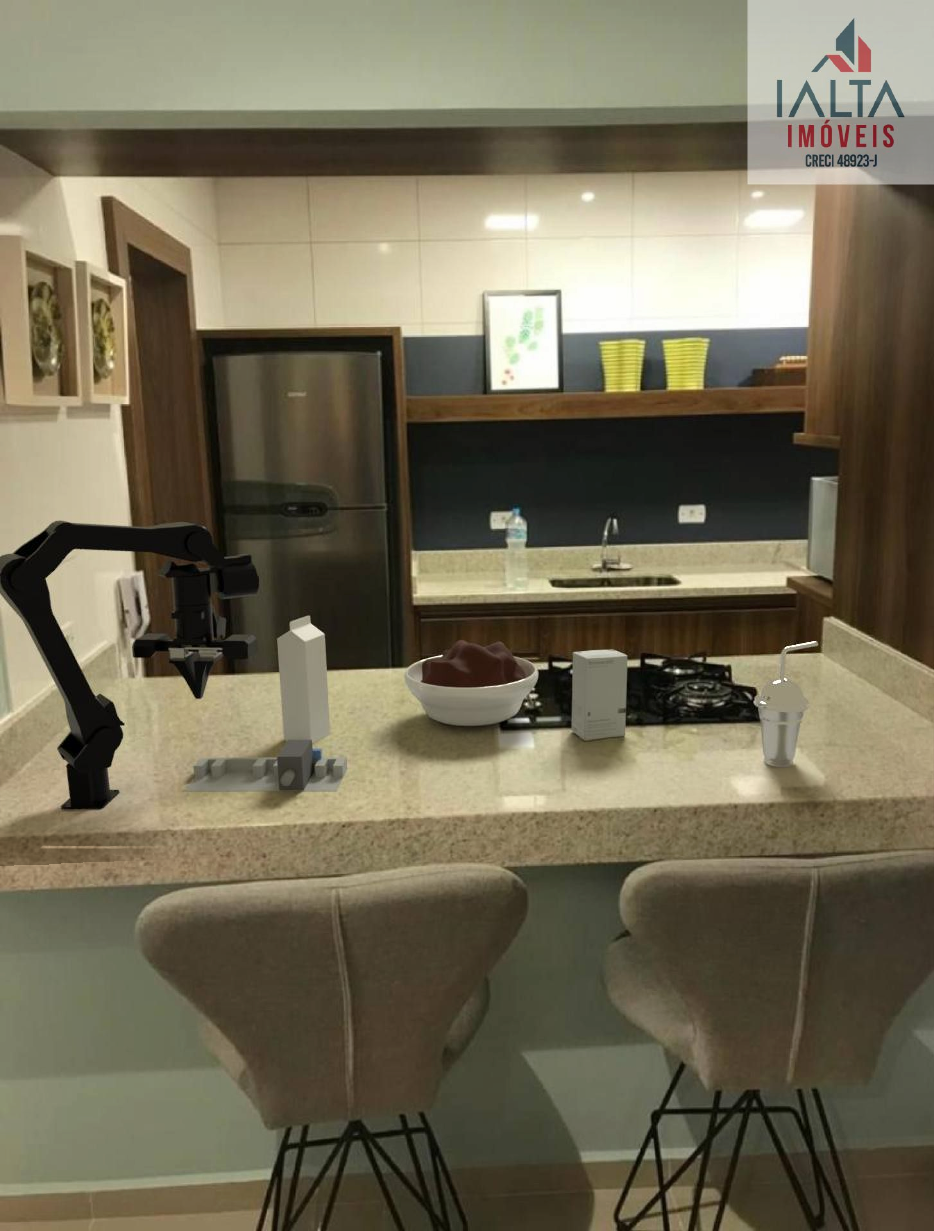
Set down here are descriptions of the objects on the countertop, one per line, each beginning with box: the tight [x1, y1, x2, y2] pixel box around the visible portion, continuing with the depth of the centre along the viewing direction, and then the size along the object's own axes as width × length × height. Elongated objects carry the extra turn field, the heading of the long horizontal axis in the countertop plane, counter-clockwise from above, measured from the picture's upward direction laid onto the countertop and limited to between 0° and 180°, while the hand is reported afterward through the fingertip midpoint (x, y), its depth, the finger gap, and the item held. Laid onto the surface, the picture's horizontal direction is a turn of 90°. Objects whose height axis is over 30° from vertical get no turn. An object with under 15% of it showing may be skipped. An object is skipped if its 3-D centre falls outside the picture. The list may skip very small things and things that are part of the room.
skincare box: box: [571, 649, 628, 742], centre depth 166 cm, size 8×6×15 cm
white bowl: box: [403, 639, 539, 727], centre depth 176 cm, size 25×25×15 cm
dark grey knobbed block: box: [276, 740, 314, 790], centre depth 147 cm, size 10×4×6 cm, turn 177°
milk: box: [276, 615, 331, 745], centre depth 167 cm, size 6×6×22 cm
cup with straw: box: [753, 640, 819, 768], centre depth 151 cm, size 8×9×20 cm
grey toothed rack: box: [182, 747, 348, 792], centre depth 149 cm, size 9×24×4 cm, turn 87°
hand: (199, 698), depth 152 cm, fingers closed
